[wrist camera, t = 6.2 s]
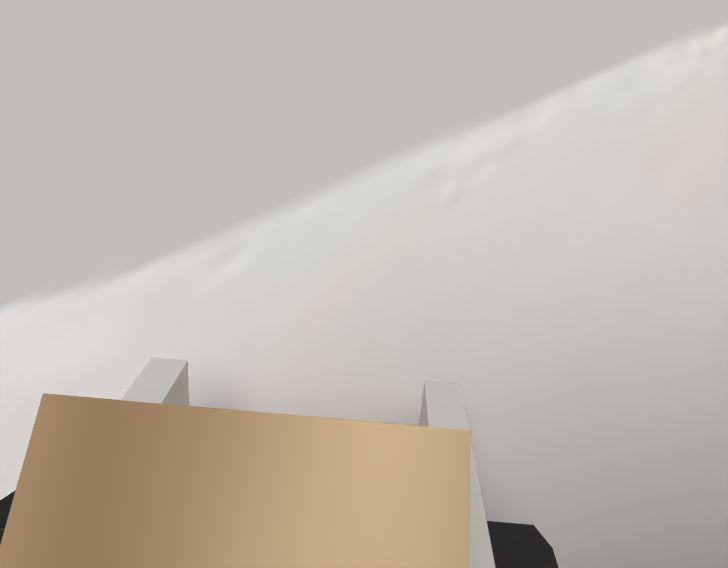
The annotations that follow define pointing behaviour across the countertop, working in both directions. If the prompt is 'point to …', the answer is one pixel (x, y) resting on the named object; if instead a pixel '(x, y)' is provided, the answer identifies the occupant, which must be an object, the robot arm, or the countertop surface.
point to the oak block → (234, 490)
